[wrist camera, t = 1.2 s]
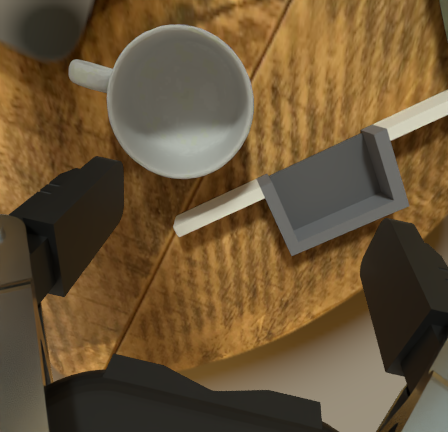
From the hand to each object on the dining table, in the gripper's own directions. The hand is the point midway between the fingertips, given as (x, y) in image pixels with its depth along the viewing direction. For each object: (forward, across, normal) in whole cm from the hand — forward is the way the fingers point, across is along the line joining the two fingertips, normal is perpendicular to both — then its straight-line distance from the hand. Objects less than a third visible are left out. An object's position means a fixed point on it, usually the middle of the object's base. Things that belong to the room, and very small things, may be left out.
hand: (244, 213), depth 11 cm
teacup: (+23, +9, +3) cm, 25 cm away
